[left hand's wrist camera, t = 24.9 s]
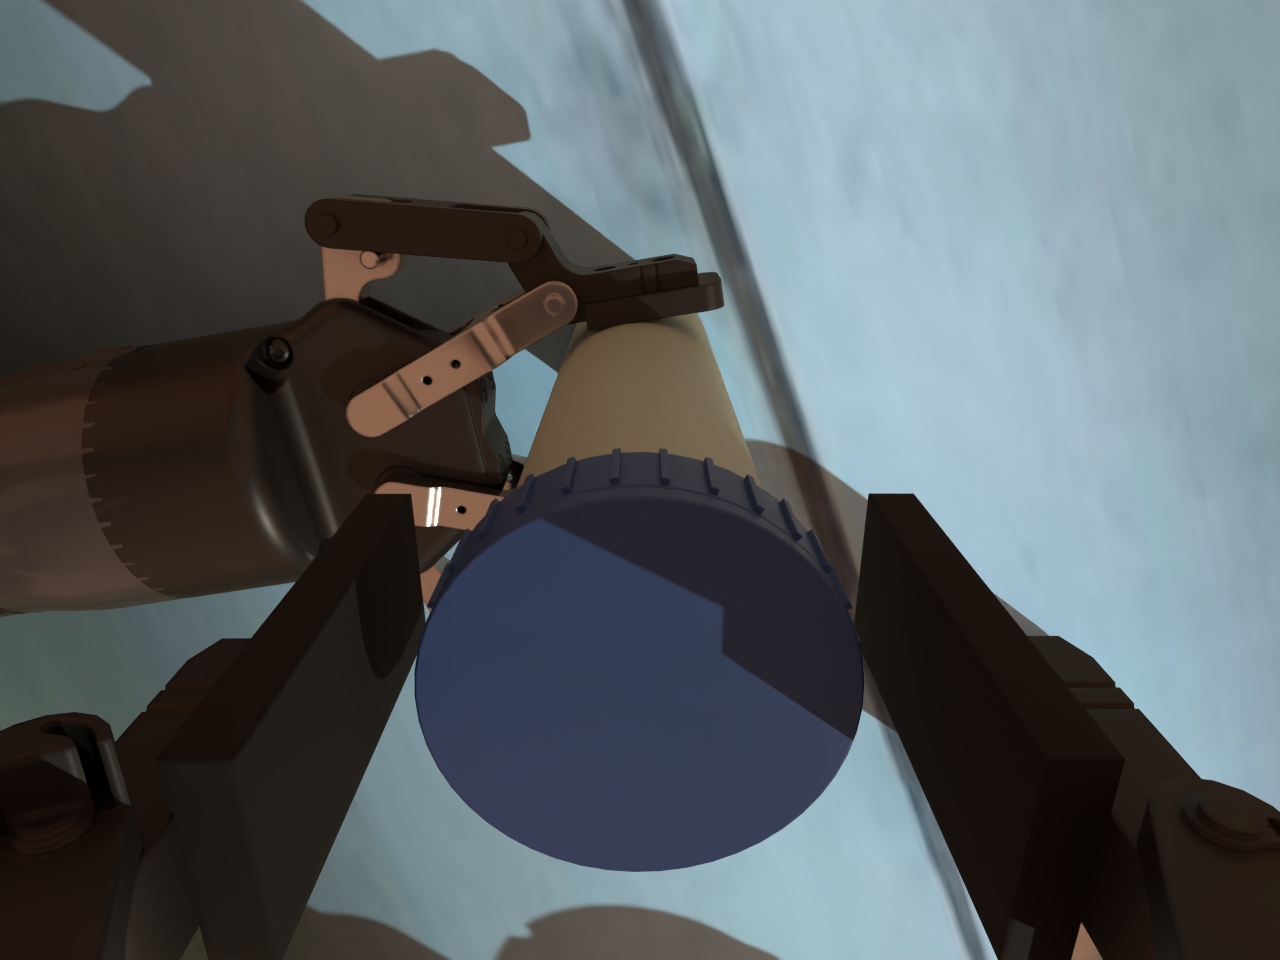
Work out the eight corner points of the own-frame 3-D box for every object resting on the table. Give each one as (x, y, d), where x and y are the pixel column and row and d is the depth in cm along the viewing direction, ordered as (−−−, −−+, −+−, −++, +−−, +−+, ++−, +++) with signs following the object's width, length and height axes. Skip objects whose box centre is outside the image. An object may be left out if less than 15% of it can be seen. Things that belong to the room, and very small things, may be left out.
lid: (351, 597, 12) (310, 660, 11) (691, 358, 11) (700, 391, 9) (598, 851, 14) (592, 936, 12) (916, 673, 12) (954, 745, 11)
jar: (569, 281, 29) (452, 499, 11) (709, 281, 29) (825, 499, 11) (573, 416, 31) (479, 793, 13) (705, 415, 31) (799, 794, 13)
